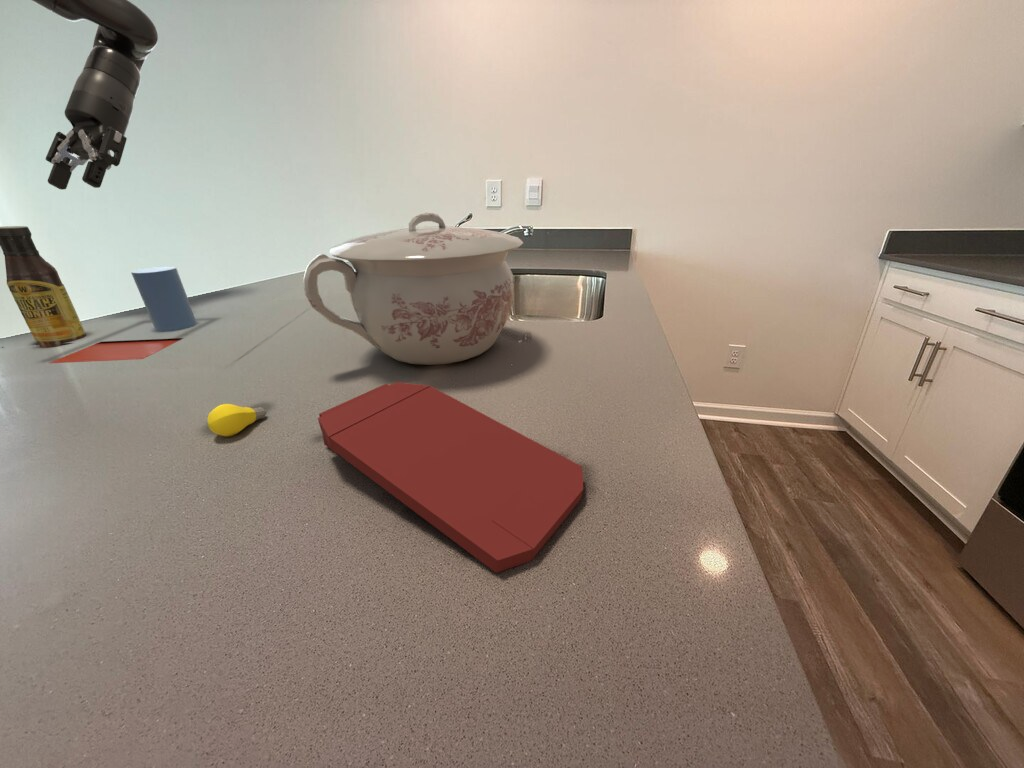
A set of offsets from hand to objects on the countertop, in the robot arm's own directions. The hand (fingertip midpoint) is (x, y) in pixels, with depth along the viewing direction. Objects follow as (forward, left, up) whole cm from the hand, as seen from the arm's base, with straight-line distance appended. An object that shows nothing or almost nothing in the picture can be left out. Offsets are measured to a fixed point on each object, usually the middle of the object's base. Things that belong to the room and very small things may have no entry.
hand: (73, 185), depth 71 cm
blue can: (+12, -5, -25) cm, 28 cm away
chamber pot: (+63, -21, -26) cm, 71 cm away
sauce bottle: (-4, -10, -26) cm, 28 cm away
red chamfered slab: (+66, -53, -26) cm, 88 cm away
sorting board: (+10, -11, -26) cm, 30 cm away
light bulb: (+43, -43, -26) cm, 66 cm away
